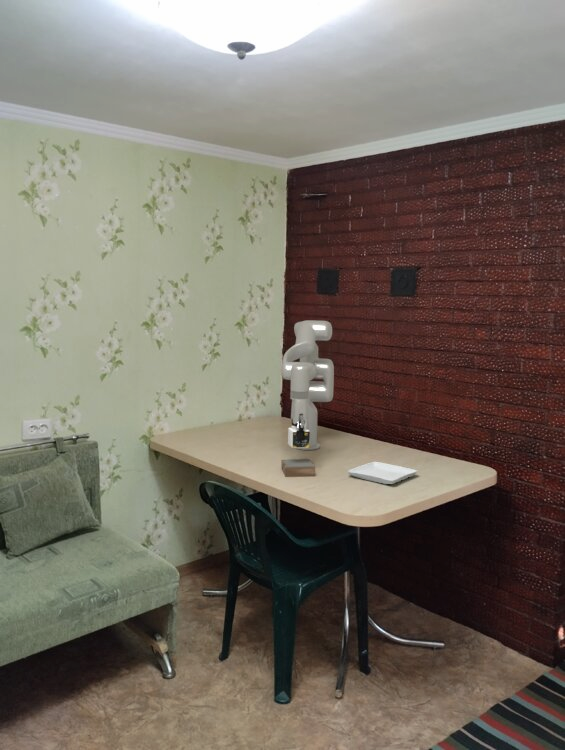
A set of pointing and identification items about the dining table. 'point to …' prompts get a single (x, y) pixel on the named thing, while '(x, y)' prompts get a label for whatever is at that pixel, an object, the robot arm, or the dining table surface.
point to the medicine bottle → (292, 437)
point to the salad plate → (382, 472)
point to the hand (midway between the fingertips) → (298, 437)
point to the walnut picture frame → (297, 467)
